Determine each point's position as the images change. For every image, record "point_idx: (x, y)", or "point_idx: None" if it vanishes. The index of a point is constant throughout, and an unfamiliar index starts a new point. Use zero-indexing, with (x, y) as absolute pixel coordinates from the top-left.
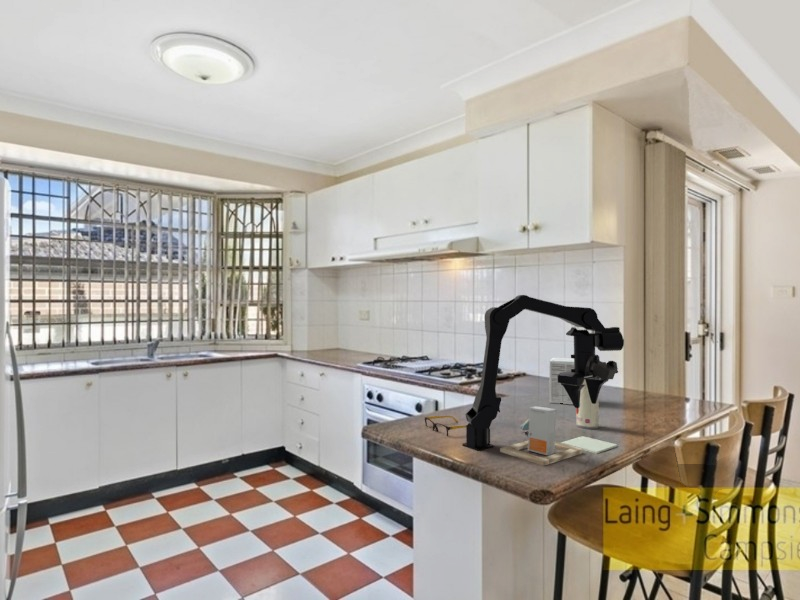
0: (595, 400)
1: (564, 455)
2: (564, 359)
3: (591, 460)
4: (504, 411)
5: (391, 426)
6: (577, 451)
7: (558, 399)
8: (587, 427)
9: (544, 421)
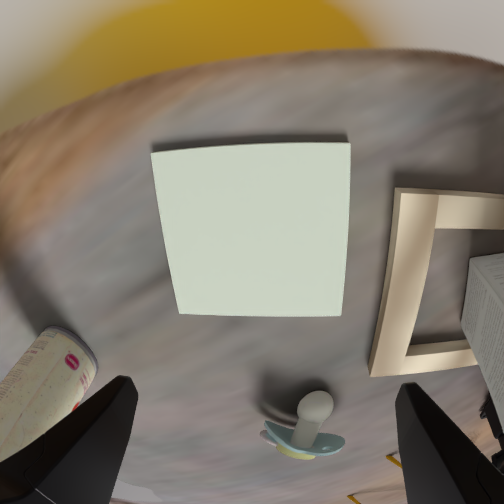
0: (117, 395)
1: None
2: None
3: (448, 112)
4: (181, 490)
5: None
6: (436, 193)
7: None
8: (82, 347)
9: None
